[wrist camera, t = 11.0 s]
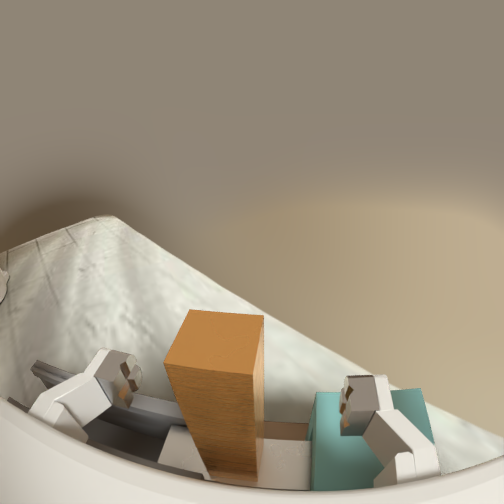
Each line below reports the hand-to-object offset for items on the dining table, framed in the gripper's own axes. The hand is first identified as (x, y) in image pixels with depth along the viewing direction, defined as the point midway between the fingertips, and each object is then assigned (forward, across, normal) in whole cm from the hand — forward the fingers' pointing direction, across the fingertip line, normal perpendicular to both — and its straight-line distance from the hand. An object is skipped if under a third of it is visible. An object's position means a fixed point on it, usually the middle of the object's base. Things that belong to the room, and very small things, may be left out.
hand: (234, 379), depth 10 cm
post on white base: (-1, -2, +9) cm, 9 cm away
